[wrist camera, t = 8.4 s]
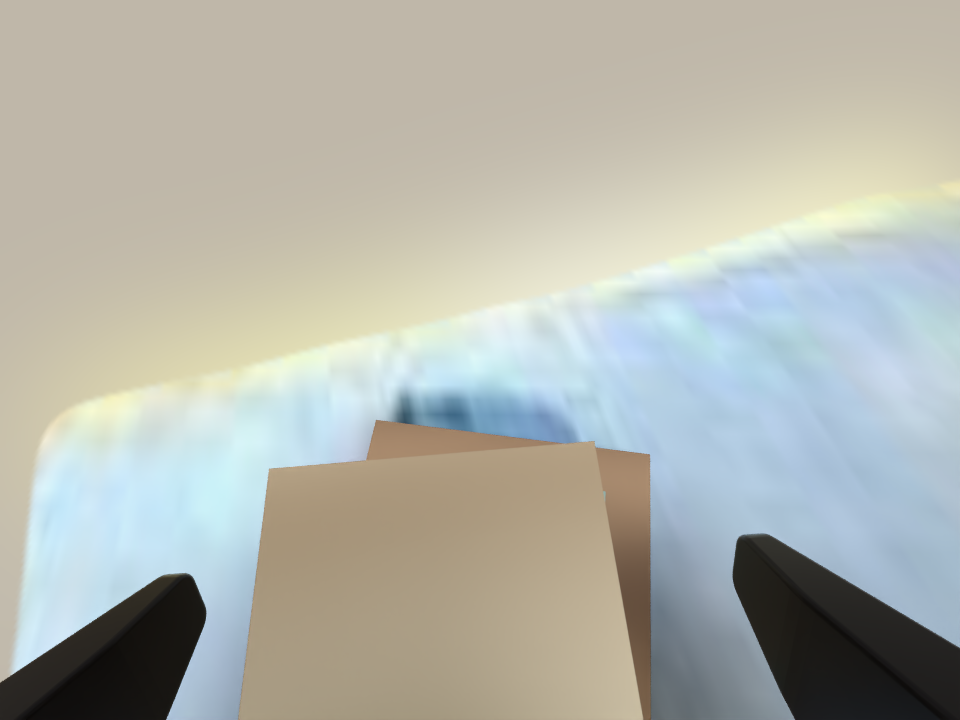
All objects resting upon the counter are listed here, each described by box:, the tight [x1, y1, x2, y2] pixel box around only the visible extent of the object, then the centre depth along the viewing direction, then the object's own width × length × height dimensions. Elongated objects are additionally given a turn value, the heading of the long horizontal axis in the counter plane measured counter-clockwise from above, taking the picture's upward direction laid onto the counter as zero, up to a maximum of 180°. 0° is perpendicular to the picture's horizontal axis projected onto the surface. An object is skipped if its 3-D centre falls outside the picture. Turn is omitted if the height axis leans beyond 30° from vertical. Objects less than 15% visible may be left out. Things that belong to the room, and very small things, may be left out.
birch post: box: [238, 441, 643, 720], centre depth 9 cm, size 4×4×10 cm
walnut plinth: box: [366, 420, 651, 720], centre depth 16 cm, size 10×10×3 cm
